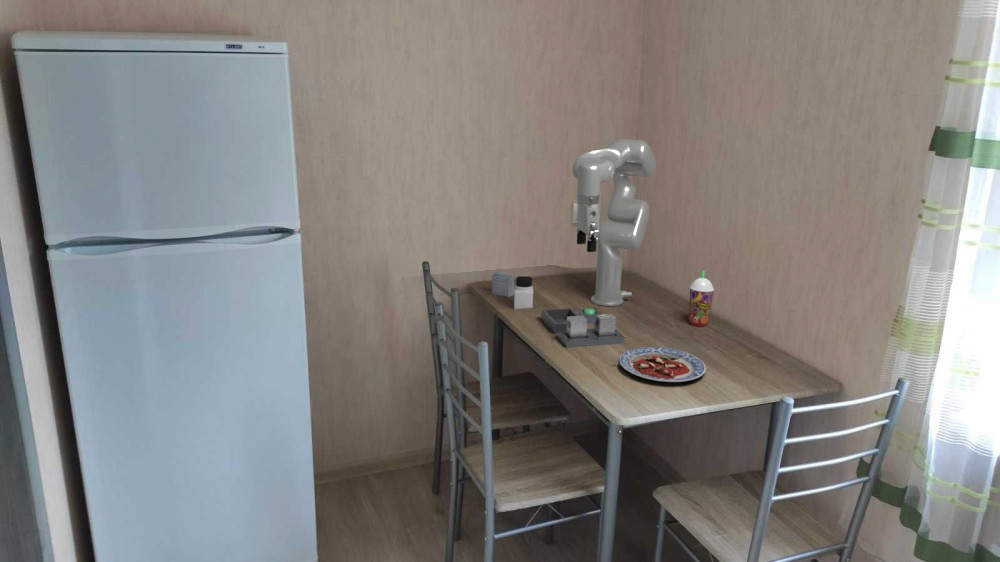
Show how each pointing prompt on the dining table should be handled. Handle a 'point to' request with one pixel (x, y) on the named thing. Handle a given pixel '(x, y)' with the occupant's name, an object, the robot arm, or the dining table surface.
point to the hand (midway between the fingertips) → (586, 247)
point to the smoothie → (700, 301)
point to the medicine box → (503, 284)
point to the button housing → (588, 315)
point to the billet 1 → (576, 327)
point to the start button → (589, 311)
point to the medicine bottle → (523, 292)
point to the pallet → (590, 339)
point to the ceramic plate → (663, 365)
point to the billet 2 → (605, 325)
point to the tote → (557, 318)
